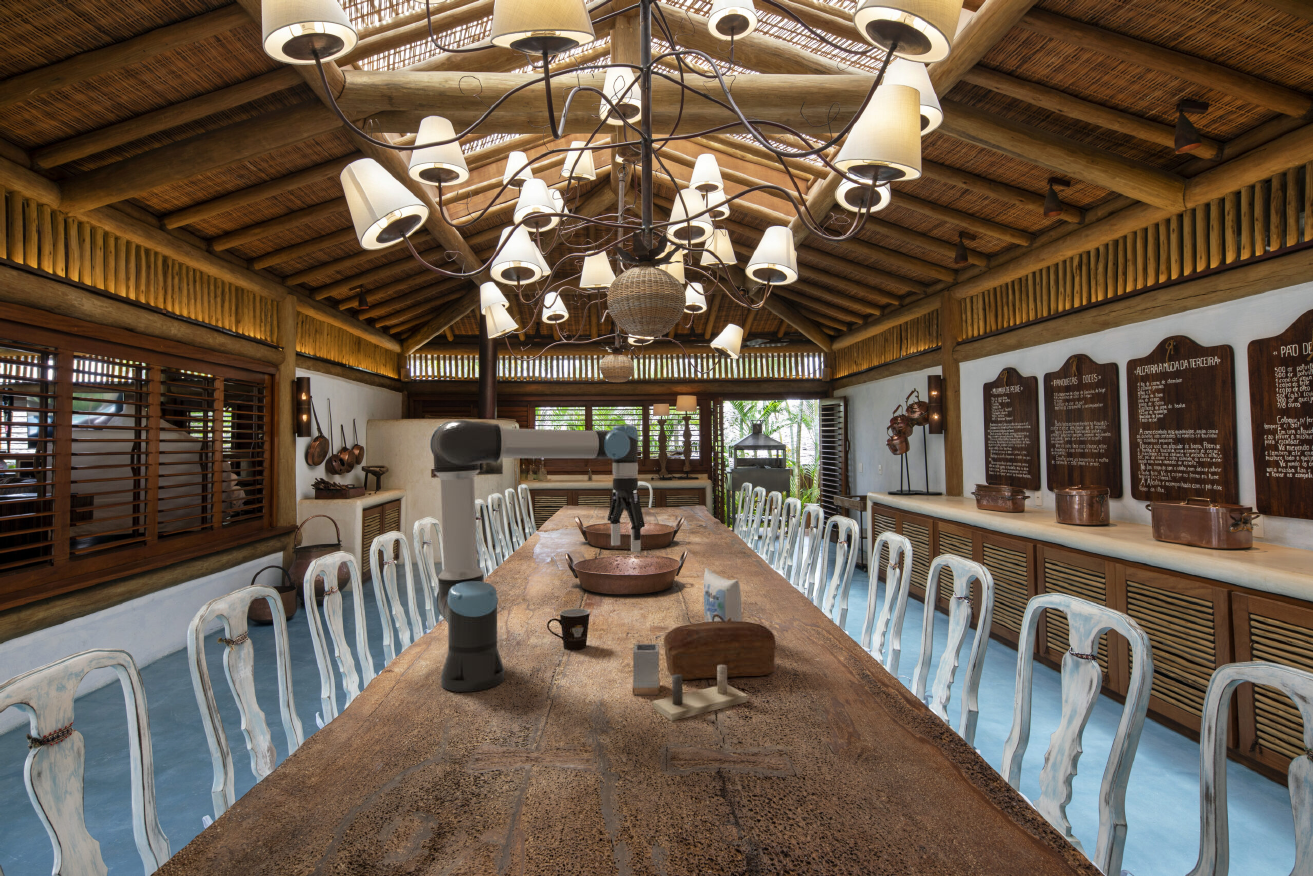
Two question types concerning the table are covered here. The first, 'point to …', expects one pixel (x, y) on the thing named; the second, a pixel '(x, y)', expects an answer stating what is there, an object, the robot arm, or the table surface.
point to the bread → (720, 649)
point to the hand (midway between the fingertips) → (625, 548)
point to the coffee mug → (573, 628)
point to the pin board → (699, 698)
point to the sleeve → (646, 669)
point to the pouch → (721, 598)
